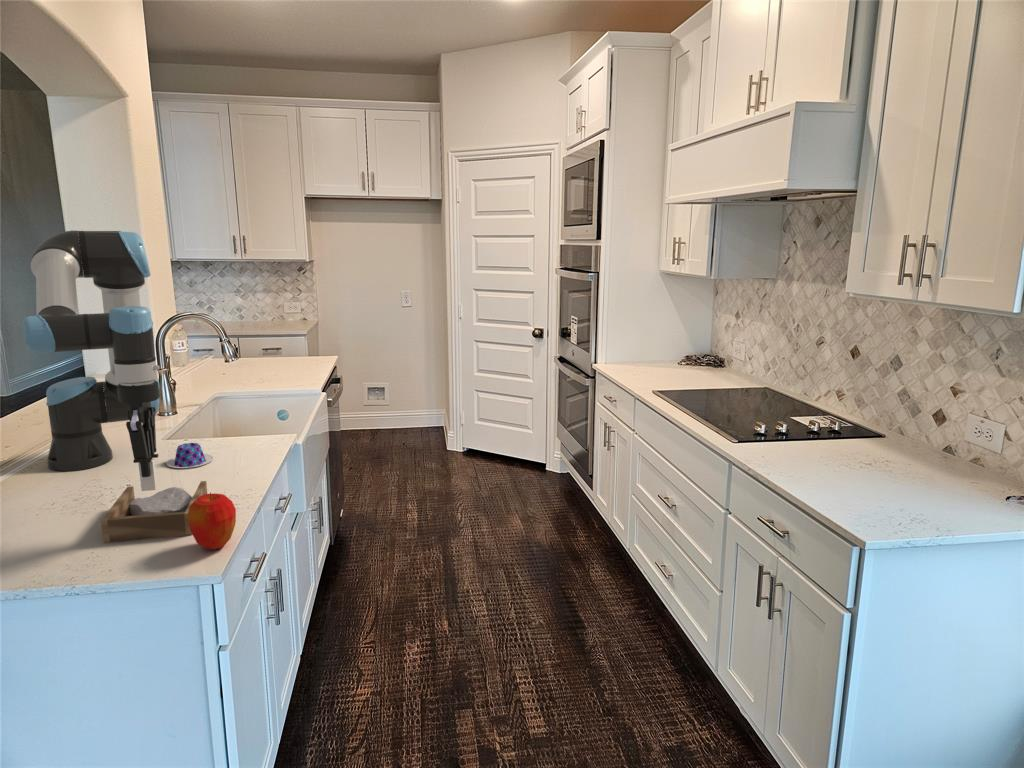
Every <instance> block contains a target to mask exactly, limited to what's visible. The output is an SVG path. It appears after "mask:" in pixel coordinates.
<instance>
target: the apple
mask: <svg viewBox="0 0 1024 768" xmlns="http://www.w3.org/2000/svg"><path fill="white" fill-rule="evenodd" d="M236 513H237V509H236V506H235V504H234V502H233V501H232V499H230V498H229V497H228V496H227V495H225V494H222V493H216V492H215V493H212V492H209V493H207V494H205V495H202V496H200V497H199V498H197V499H196V500H195V501H194V502H193V503H192V504H191V505H190V508H189V512H188V516H187V519H188V523H189V527H190V531H191V533H192V535H191V536H192V537H193V539H194V540H195V542H196V544H197V545H198V546H200V547H202V548H204V549H207V550H219V549H220V550H221V549H222V548H223V547H224V546H226V544H227V543H228V542H229V541H230V540H231V538H232V536H233V533H234V530H235V527H236V522H237V517H236V516H237V515H236Z"/></svg>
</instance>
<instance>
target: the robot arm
mask: <svg viewBox="0 0 1024 768" xmlns="http://www.w3.org/2000/svg"><path fill="white" fill-rule="evenodd" d="M145 249H146V248H145V245H144V242H143V238H142V236H141V235H140V234H139V233H138V232H133V231H132V232H131V231H122V230H67V231H62V232H59V233H56V234H53V235H51V236H49V237H47V238H46V239H44V240H43V241H42V242H41V243H40V244H39V245H38V246H37V247H36V248H35V249H34V250H33V253H32V255H31V258H30V269H31V273H32V275H33V276H34V277H35V278H36V279H35V281H36V282H35V288H36V289H35V293H36V297H35V299H36V300H35V303H36V305H35V306H36V315H30V316H26V317H24V318H23V321H22V326H23V327H22V329H23V336H24V341H25V342H24V343H25V346H26V349H27V350H28V351H29V352H30V353H50V354H53V353H59V352H60V353H61V352H73V351H84V350H85V351H86V350H88V351H89V350H104V349H105V350H108V351H107V352H108V361H109V371H108V372H107V373H105V376H104V381H97V379H96V378H95V377H94V376H80V377H79V376H78V377H74V378H69V379H66V380H62V381H58V382H55V383H53V384H51V385H50V386H49V387H47V389H46V391H45V392H46V393H45V395H46V403H45V404H46V406H47V408H48V409H47V410H48V416H49V417H48V419H49V424H50V425H49V426H50V432H51V443H50V447H49V449H48V450H49V451H48V454H47V457H46V458H47V461H46V462H47V466H48V468H49V470H53V471H57V472H58V471H59V472H73V471H74V472H75V471H81V470H87V469H92V468H95V467H99V466H102V465H105V464H107V463H109V462H110V461H112V459H113V458H114V456H113V450H112V448H111V446H110V444H109V443H108V441H107V439H106V436H105V435H104V433H103V429H102V424H108V423H109V424H110V423H117V422H118V423H119V422H126V423H125V427H126V429H127V431H128V435H129V441H130V443H131V444H130V445H131V449H132V454H133V463H134V464H136V463H137V464H138V471H139V480H140V488H141V489H140V490H141V492H145V491H146V492H147V491H156V490H157V488H158V481H157V472H156V464H155V462H156V461H155V459H157V458H159V453H156V452H157V439H156V438H157V436H156V435H157V432H156V415H157V413H159V408H160V396H161V395H160V394H161V393H160V381H159V378H158V371H159V370H160V365H158V364H157V361H156V351H155V339H154V331H153V330H154V328H153V326H154V322H153V319H152V315H151V310H150V309H149V308H148V307H147V306H141V299H140V289H141V288H142V287H144V286H145V284H146V282H145V281H146V280H145V279H148V277H150V276H151V271H150V266H149V261H148V257H147V253H146V250H145ZM77 278H79V279H80V278H81V279H83V278H87V279H88V278H89V279H92V280H93V281H92V282H93V284H94V285H93V286H95V287H97V288H98V289H99V290H101V299H102V307H103V313H80V312H79V311H80V310H79V302H78V293H77V292H78V291H77V280H76V279H77Z"/></svg>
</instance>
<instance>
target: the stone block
mask: <svg viewBox="0 0 1024 768" xmlns="http://www.w3.org/2000/svg"><path fill="white" fill-rule="evenodd" d="M192 498H193V496H191V494H190V493H188V491H186V490H184V488H183V487H182V488H181V487H178V486H177V487H176V486H173V487H172V486H171V487H168V488H165V489H163V490H160V491H158V492H156V493H154V494H153V495H151V496H149V497H148V496H146V497H143V498H141V497H136V498H135V499H134V500H133V501H132V502H131V504H130V508H129V509H130V516H138V515H150V514H163V513H175V512H185V511H186V509H187V507H188V506H189V504H190V502H191V500H192Z"/></svg>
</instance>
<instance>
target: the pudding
mask: <svg viewBox="0 0 1024 768" xmlns="http://www.w3.org/2000/svg"><path fill="white" fill-rule="evenodd" d="M176 448H177V449H176V451H175V452H176V453H175V457H172V458H170V459H168V460H167V461H166V462H165V464H166V466H167V467H169V468H170V467H171V468H173V469H174V468H175V469H188V468H195V467H201V466H204V465H206V464H208V463H210V462H212V461H213V460H214V457H213V455H210V454H208V453H204V451H203V448H202V446H201V445H200V444H199V443H197V442H188V443H182V444H179V445H177V447H176Z"/></svg>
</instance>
